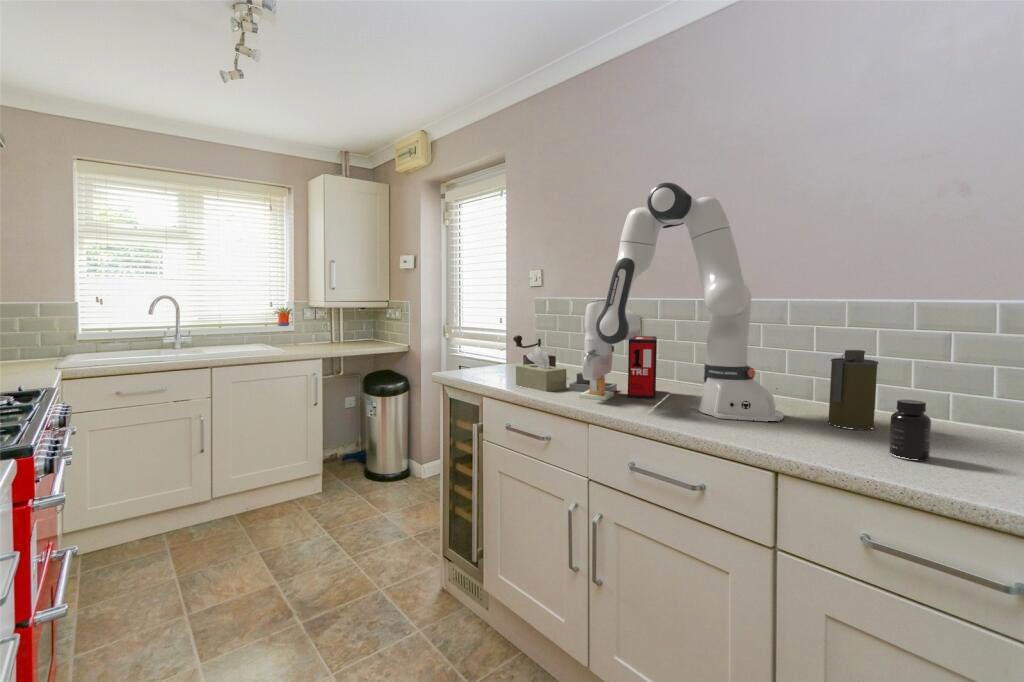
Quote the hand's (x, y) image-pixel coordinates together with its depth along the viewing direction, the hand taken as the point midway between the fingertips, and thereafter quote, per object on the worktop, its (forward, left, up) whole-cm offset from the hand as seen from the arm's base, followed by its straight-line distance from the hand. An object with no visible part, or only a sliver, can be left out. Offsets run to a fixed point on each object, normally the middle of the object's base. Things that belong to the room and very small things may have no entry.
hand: (597, 389), depth 172 cm
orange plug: (0, 0, -2) cm, 2 cm away
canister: (-71, +3, -3) cm, 71 cm away
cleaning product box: (-12, -13, -3) cm, 18 cm away
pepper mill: (+38, -31, -3) cm, 49 cm away
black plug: (+9, -11, -2) cm, 14 cm away
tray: (0, 0, -3) cm, 3 cm away
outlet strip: (+5, -11, -3) cm, 12 cm away
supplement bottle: (-79, +29, -3) cm, 84 cm away
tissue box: (+25, -9, -3) cm, 27 cm away
